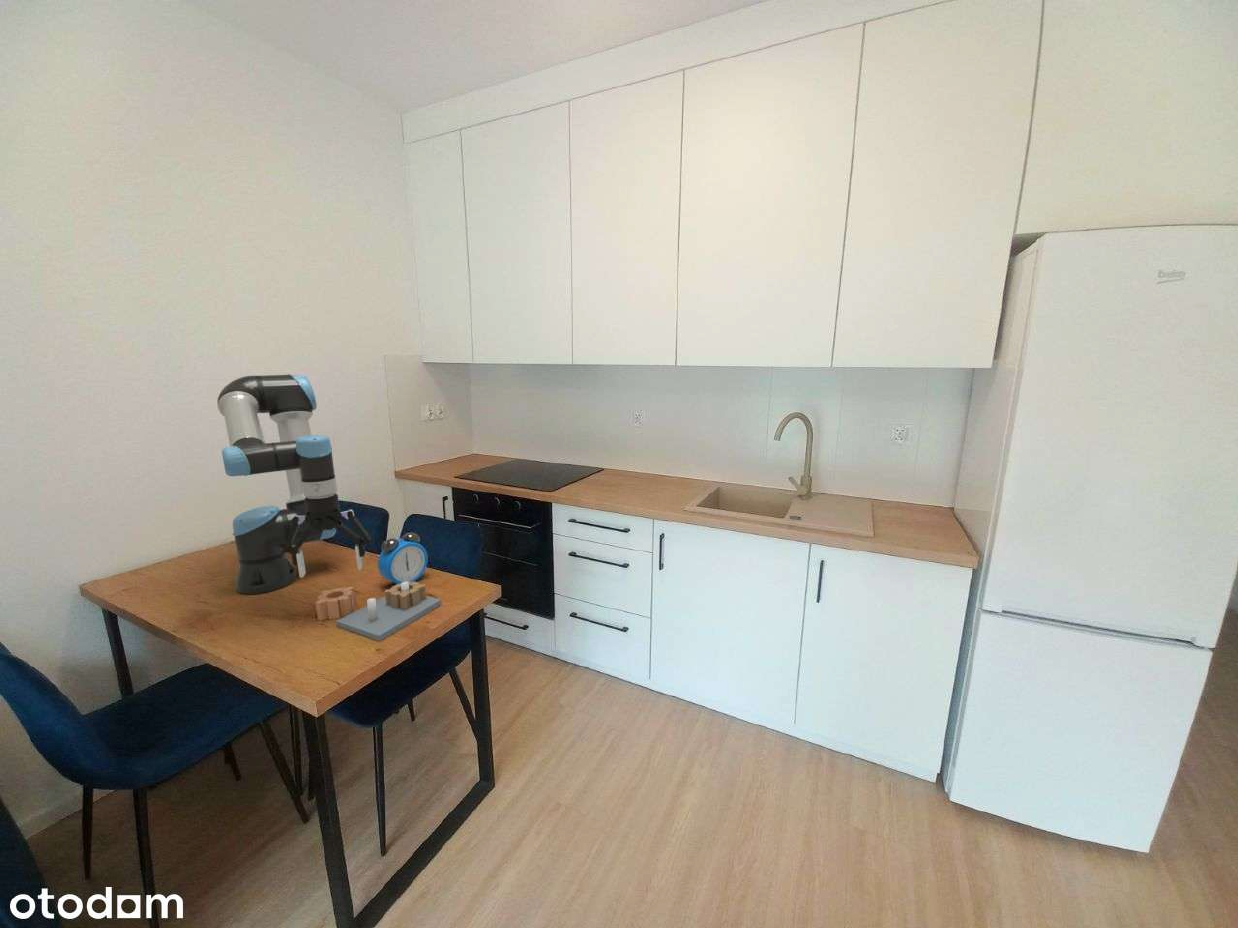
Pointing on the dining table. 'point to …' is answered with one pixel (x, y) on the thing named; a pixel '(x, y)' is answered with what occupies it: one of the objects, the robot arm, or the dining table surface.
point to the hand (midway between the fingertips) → (332, 571)
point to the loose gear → (335, 603)
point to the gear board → (390, 611)
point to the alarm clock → (402, 559)
